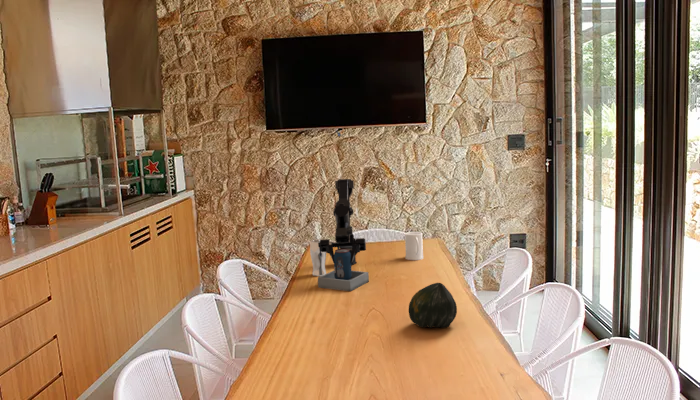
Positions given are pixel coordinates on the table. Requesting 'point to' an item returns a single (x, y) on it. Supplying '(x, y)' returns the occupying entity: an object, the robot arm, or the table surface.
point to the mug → (414, 245)
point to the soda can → (342, 264)
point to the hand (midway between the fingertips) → (342, 262)
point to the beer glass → (317, 258)
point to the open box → (343, 281)
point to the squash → (433, 307)
